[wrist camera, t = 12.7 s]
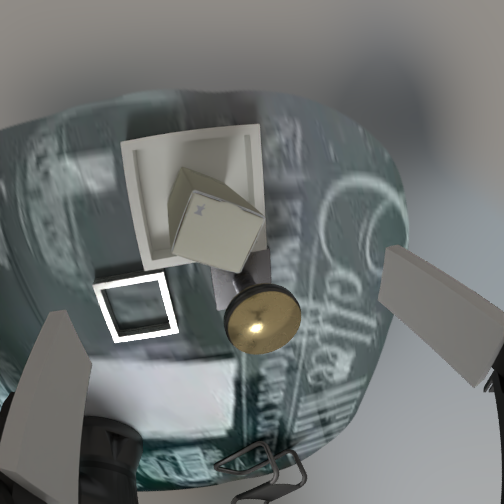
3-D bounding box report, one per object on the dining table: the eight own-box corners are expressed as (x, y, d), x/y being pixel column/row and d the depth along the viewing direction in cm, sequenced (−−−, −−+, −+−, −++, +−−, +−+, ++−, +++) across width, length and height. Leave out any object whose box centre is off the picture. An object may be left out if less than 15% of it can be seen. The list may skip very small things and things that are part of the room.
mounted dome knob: (214, 308, 35) (231, 362, 27) (206, 255, 32) (221, 301, 24) (271, 296, 37) (301, 345, 28) (268, 244, 34) (304, 284, 25)
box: (165, 204, 28) (163, 254, 17) (181, 164, 27) (189, 186, 16) (212, 220, 30) (241, 277, 19) (229, 182, 29) (269, 216, 18)
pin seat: (116, 335, 33) (115, 342, 32) (95, 278, 30) (92, 284, 28) (178, 325, 35) (178, 332, 34) (163, 266, 31) (163, 272, 30)
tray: (146, 259, 30) (144, 271, 28) (125, 141, 25) (120, 142, 22) (258, 239, 33) (267, 249, 31) (251, 124, 28) (259, 123, 25)
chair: (207, 466, 53) (229, 543, 33) (263, 436, 52) (299, 521, 32) (242, 473, 59) (266, 540, 39) (294, 445, 58) (328, 516, 38)
